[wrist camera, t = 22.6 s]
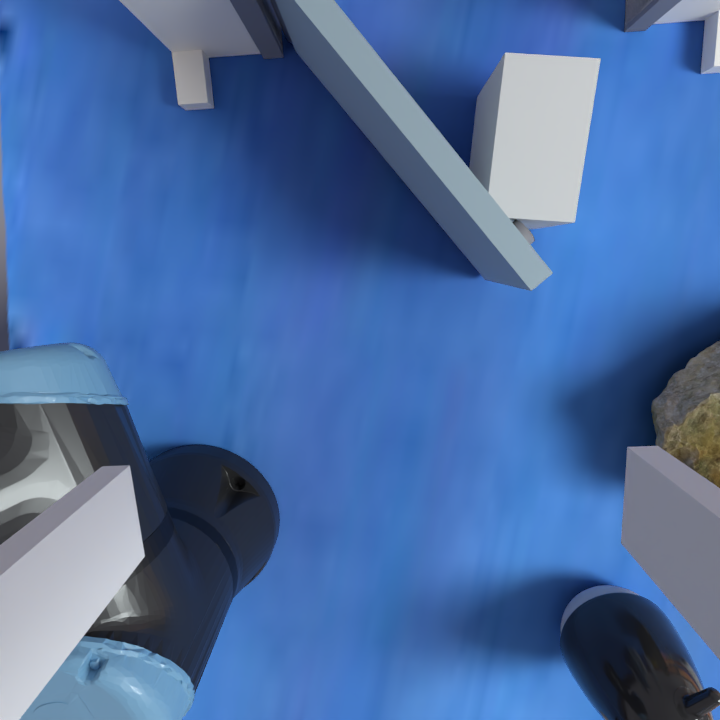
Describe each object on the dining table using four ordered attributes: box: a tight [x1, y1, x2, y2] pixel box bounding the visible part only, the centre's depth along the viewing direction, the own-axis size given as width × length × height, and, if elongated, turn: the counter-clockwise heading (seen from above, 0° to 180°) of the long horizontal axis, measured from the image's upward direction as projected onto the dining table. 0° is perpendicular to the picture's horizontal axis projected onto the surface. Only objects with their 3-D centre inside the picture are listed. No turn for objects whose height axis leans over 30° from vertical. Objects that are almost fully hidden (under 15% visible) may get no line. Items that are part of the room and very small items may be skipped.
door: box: [270, 0, 552, 291], centre depth 34 cm, size 26×3×14 cm, turn 42°
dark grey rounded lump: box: [560, 585, 720, 720], centre depth 42 cm, size 10×10×15 cm
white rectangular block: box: [469, 53, 600, 229], centre depth 36 cm, size 6×10×9 cm, turn 176°
